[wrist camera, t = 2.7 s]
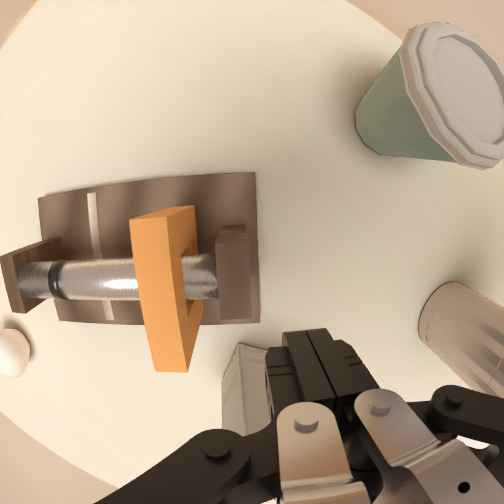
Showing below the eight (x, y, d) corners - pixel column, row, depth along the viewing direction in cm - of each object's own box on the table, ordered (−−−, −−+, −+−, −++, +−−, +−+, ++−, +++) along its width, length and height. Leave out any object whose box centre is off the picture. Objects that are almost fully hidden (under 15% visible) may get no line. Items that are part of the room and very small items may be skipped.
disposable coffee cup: (350, 182, 25) (457, 184, 11) (318, 80, 23) (387, -2, 8) (429, 164, 25) (535, 162, 11) (401, 74, 23) (490, 26, 8)
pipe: (247, 246, 20) (249, 256, 17) (249, 288, 20) (251, 306, 17) (21, 258, 19) (0, 267, 16) (28, 290, 20) (9, 303, 17)
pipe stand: (254, 173, 25) (262, 164, 16) (259, 315, 28) (268, 372, 19) (45, 197, 24) (-13, 205, 15) (65, 315, 27) (21, 354, 18)
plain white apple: (5, 310, 27) (-29, 333, 19) (38, 336, 28) (6, 366, 20) (6, 345, 28) (-22, 369, 20) (37, 369, 29) (11, 399, 21)
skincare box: (221, 379, 30) (215, 487, 15) (239, 338, 28) (241, 451, 14) (287, 394, 31) (310, 495, 16) (309, 357, 30) (349, 460, 15)
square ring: (194, 205, 22) (166, 216, 13) (203, 310, 24) (187, 372, 15) (170, 206, 22) (129, 219, 13) (181, 310, 24) (155, 371, 15)
